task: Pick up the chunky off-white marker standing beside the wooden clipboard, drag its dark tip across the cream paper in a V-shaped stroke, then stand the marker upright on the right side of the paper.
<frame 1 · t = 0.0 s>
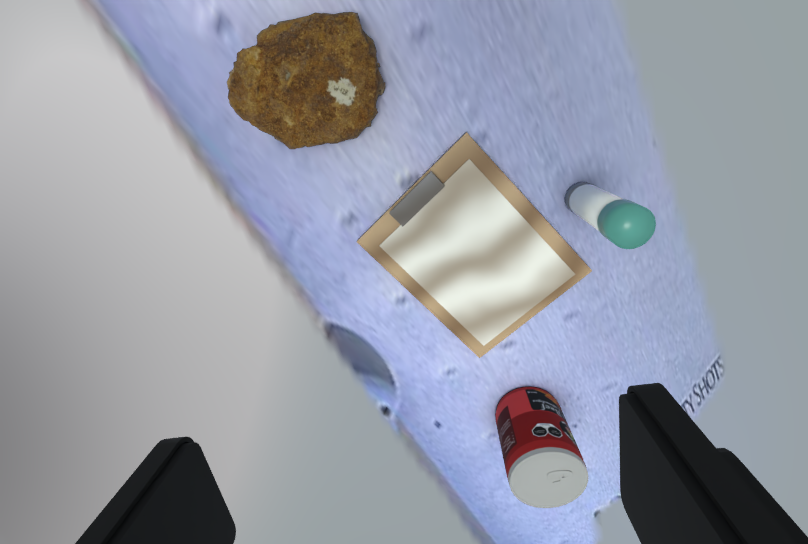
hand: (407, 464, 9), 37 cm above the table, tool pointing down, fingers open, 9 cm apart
canned food: (525, 409, 54), on the table
marker: (580, 197, 44), on the table
decorative rock: (309, 87, 42), on the table
clipboard: (473, 254, 46), on the table
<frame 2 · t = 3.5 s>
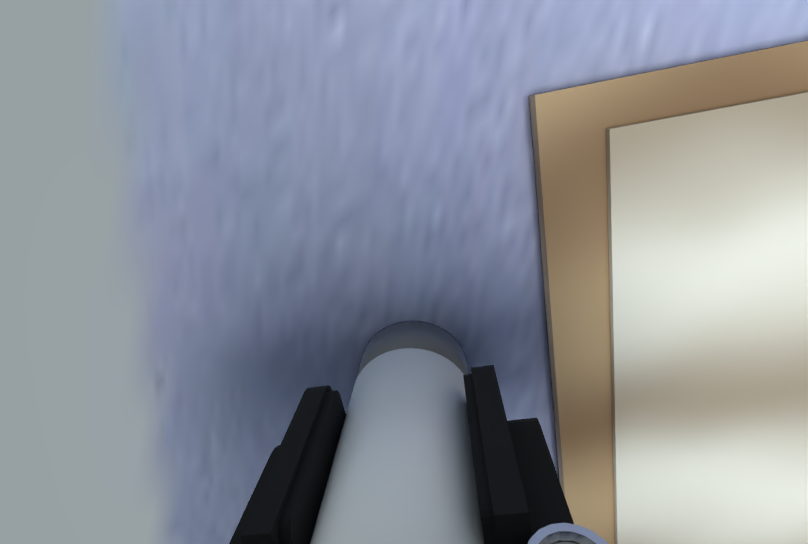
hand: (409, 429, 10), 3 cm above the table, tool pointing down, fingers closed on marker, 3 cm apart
marker: (413, 368, 13), on the table, touching gripper
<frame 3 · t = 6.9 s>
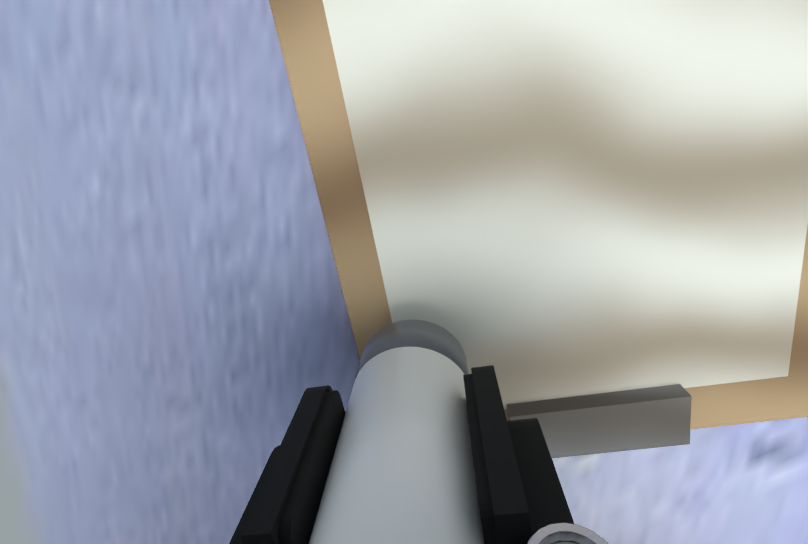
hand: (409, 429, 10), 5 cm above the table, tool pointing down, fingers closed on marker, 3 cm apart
marker: (413, 366, 13), point 3 cm above the table, touching gripper
clipboard: (572, 172, 13), on the table
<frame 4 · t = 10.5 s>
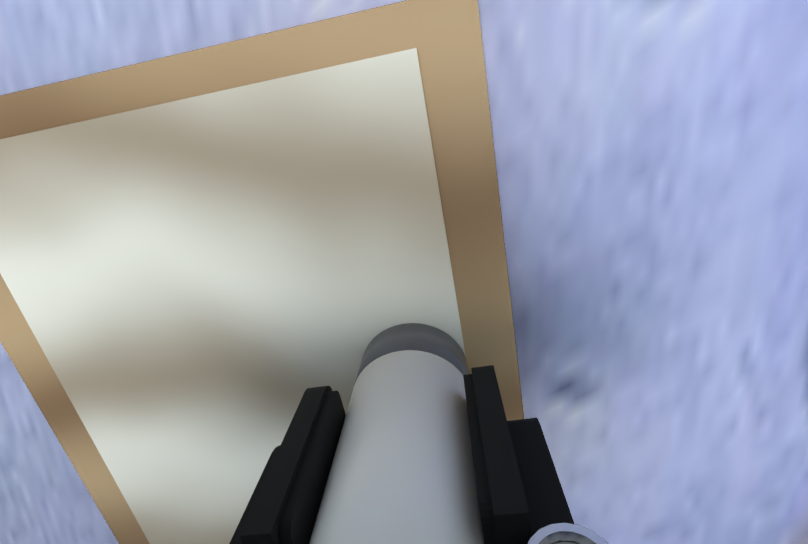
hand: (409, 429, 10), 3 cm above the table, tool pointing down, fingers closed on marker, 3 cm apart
marker: (413, 370, 13), point 1 cm above the table, touching clipboard, gripper
clipboard: (273, 387, 14), on the table
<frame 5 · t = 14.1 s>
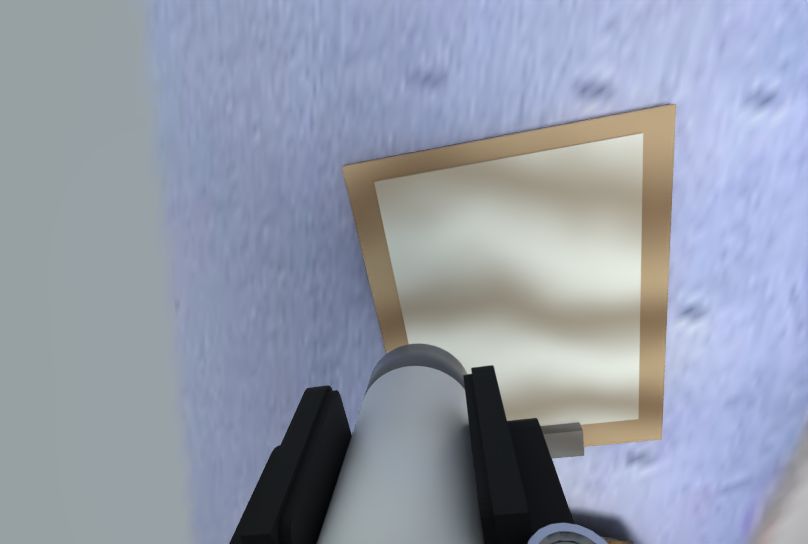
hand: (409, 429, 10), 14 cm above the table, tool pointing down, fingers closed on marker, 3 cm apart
marker: (419, 390, 13), point 11 cm above the table, tilted 8°, touching gripper
clipboard: (516, 312, 25), on the table
when the fingers open (5 cm above the table, at t = 17.5 s): marker drops 1 cm, resting on clipboard.
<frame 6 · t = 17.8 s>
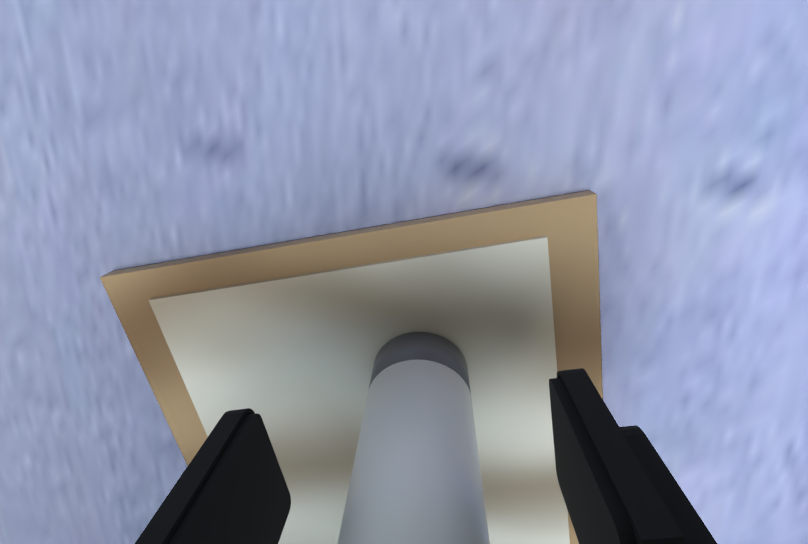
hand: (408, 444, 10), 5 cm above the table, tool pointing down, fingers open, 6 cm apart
marker: (420, 372, 14), point 1 cm above the table, touching clipboard
clipboard: (393, 469, 17), on the table
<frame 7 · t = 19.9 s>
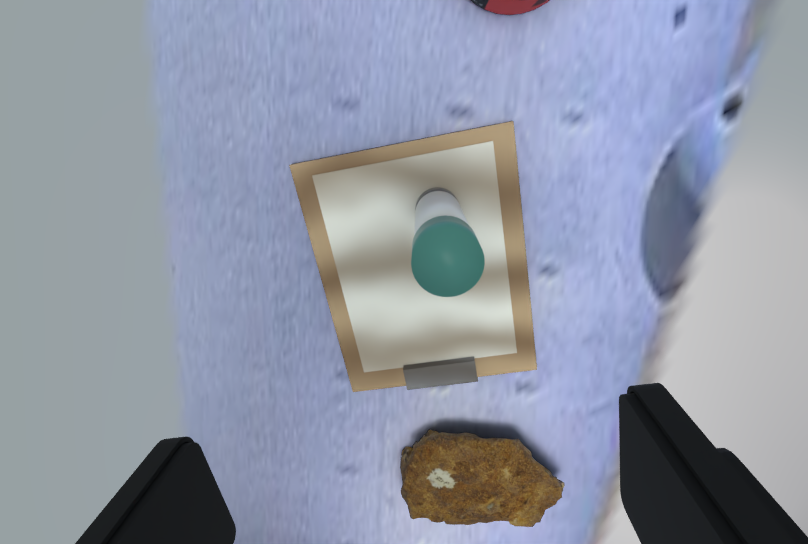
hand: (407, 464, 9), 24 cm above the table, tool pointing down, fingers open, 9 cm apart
marker: (437, 209, 31), point 1 cm above the table, touching clipboard
decorative rock: (479, 462, 41), on the table
clipboard: (422, 272, 34), on the table
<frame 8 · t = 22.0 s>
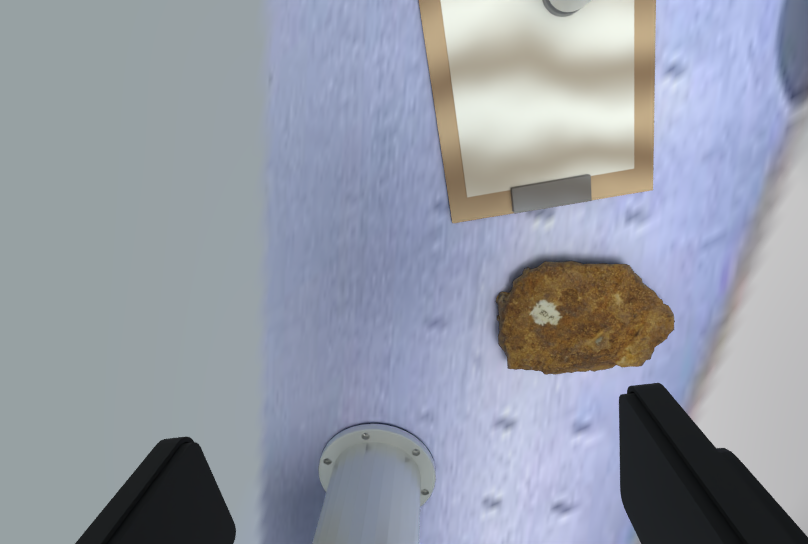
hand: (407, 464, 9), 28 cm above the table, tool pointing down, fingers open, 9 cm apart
decorative rock: (576, 309, 39), on the table
clipboard: (538, 75, 32), on the table
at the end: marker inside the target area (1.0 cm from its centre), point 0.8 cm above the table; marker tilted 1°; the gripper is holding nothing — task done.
